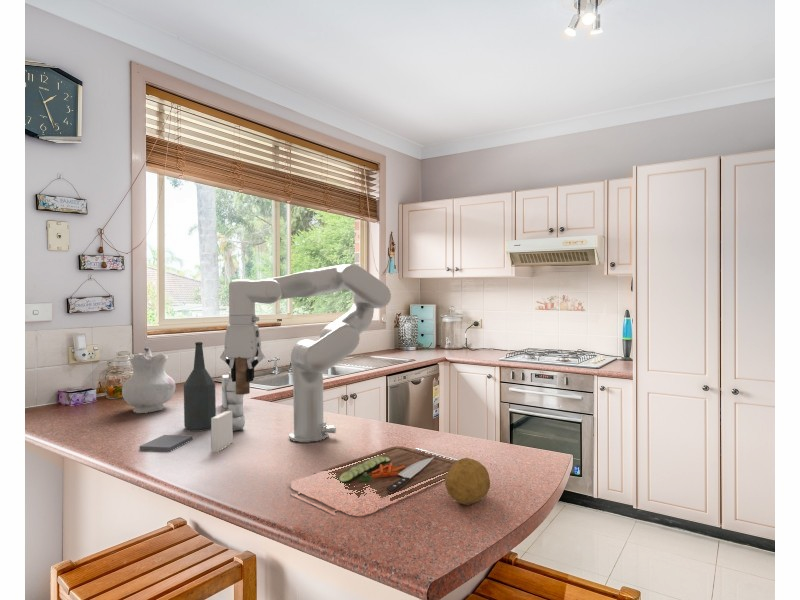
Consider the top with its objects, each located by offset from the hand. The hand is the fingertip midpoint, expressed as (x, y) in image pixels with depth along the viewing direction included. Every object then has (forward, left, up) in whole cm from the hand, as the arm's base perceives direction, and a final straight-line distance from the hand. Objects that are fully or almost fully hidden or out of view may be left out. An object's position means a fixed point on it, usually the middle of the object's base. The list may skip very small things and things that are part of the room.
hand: (242, 380), depth 152 cm
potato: (-68, +30, -21) cm, 77 cm away
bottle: (+26, -20, -21) cm, 39 cm away
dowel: (0, 0, -4) cm, 4 cm away
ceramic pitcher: (+62, -43, -21) cm, 78 cm away
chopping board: (-46, +18, -21) cm, 54 cm away
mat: (+25, 0, -20) cm, 33 cm away
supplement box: (+31, -53, -21) cm, 65 cm away
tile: (+7, 0, -21) cm, 22 cm away
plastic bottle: (+12, -18, -21) cm, 30 cm away
